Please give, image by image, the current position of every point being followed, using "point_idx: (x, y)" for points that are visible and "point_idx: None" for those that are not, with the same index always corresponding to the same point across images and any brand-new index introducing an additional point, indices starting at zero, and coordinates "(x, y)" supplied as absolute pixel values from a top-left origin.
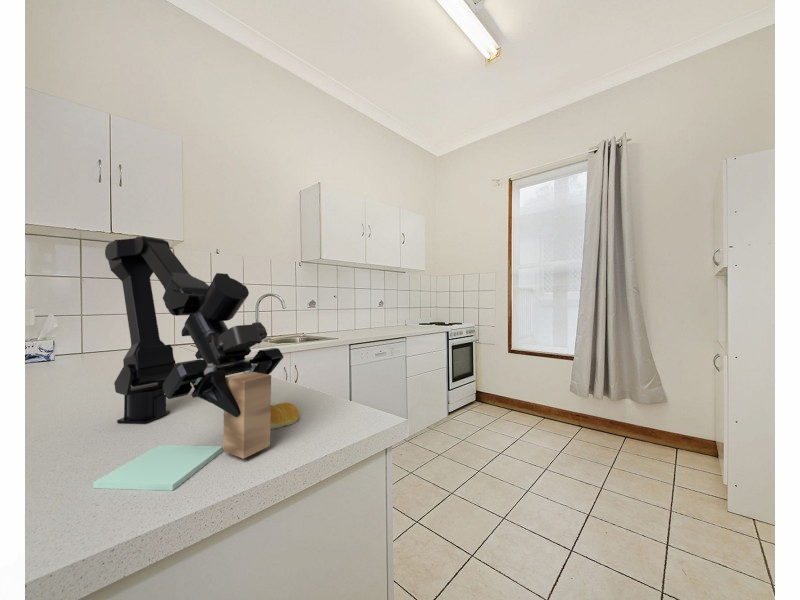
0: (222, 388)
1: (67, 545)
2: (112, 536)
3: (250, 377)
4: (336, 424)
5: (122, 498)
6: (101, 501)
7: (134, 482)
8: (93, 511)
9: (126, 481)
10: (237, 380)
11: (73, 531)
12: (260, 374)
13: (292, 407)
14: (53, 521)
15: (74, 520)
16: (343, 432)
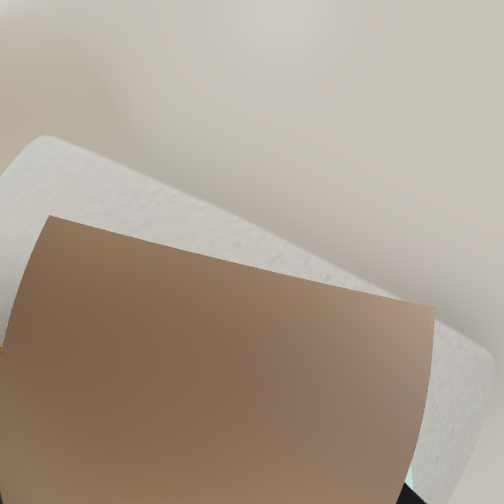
0: (408, 500)
1: (481, 388)
2: (467, 360)
3: (238, 416)
4: (30, 237)
5: (423, 449)
6: (431, 464)
7: (409, 469)
8: (447, 444)
9: (408, 482)
10: (408, 449)
11: (470, 413)
12: (33, 374)
13: None
14: (462, 457)
15: (460, 440)
16: (69, 202)
